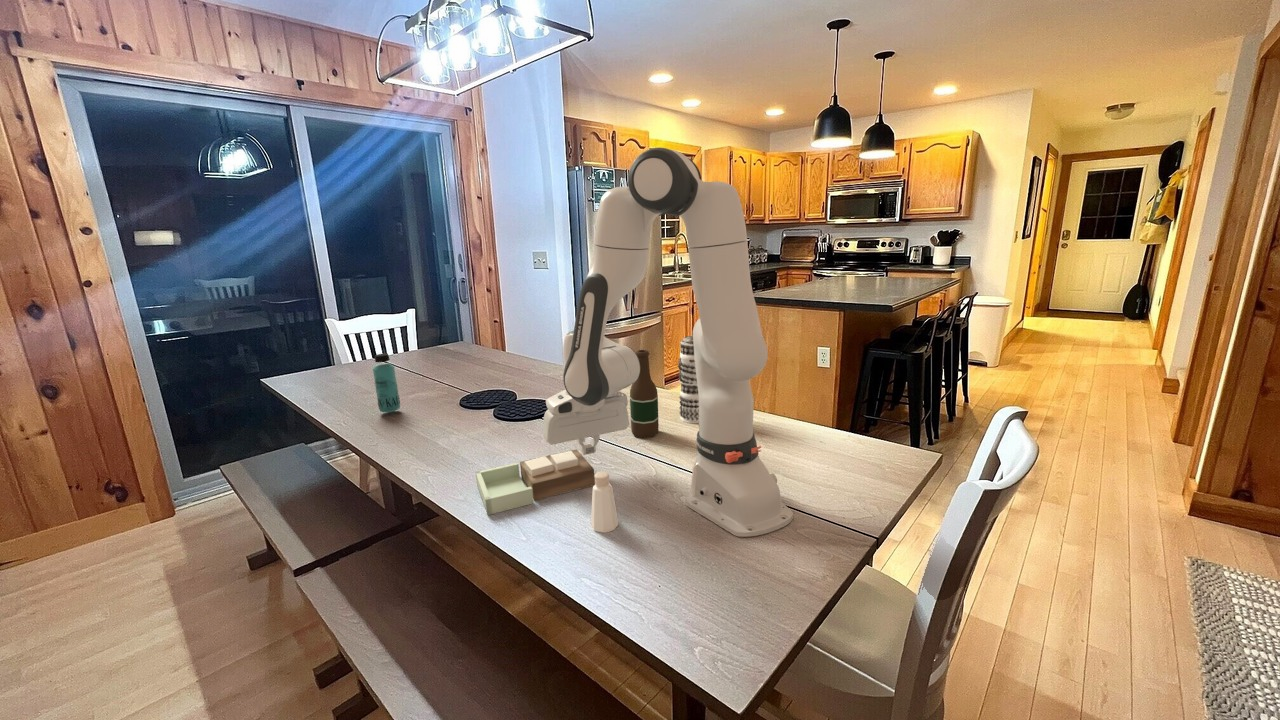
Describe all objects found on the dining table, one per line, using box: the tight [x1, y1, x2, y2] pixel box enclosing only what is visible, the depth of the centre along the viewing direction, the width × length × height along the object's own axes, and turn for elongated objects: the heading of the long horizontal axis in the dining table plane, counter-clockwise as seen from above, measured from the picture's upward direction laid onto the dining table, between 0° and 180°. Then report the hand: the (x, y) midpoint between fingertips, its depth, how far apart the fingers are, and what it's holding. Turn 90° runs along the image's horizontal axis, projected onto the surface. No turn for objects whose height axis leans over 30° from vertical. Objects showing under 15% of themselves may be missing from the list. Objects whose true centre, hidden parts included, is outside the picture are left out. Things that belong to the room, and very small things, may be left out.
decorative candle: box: [677, 335, 699, 424], centre depth 149 cm, size 9×9×25 cm
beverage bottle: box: [372, 353, 401, 413], centre depth 163 cm, size 6×7×20 cm
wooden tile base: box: [519, 448, 595, 502], centre depth 117 cm, size 12×14×4 cm
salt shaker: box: [590, 471, 619, 534], centre depth 98 cm, size 5×5×11 cm
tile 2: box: [550, 450, 578, 470], centre depth 117 cm, size 5×5×2 cm
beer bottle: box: [629, 349, 660, 440], centre depth 139 cm, size 8×8×24 cm
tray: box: [475, 462, 534, 516], centre depth 112 cm, size 14×10×4 cm
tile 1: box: [524, 455, 554, 477], centre depth 114 cm, size 5×5×2 cm
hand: (588, 453), depth 119 cm, fingers closed
